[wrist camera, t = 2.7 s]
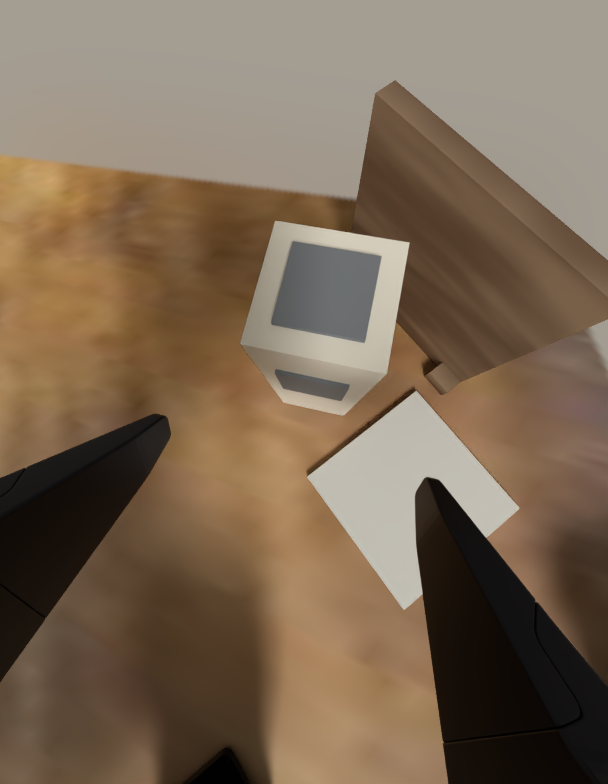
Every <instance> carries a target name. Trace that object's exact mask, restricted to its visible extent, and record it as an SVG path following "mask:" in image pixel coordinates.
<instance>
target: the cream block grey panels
mask: <svg viewBox="0 0 608 784" xmlns="http://www.w3.org/2000/svg"><path fill="white" fill-rule="evenodd" d="M408 249H409V242H403V241H397V240H391V239H385V238H379V237H373V236H366V235H360V234H354V233H348V232H342V231H336V230H330V229H324V228H317V227H311V226H305V225H299V224H293V223H287V222H281V221H275V224H274V227H273V231H272V234H271V238H270V241H269V245H268V248H267V252H266V255H265V259H264V262H263V266H262V269H261V272H260V276H259V279H258V283H257V286H256V290H255V293H254V297H253V300H252V304H251V307H250V311H249V314H248V318H247V321H246V325H245V328H244V332H243V335H242V339H241V342H240V345H241V346H242V347H243V349H244V350H245V351H246V353H247V354H248V355H249V357H250V358H251V359H252V361H253V362H254V363H255V365H256V366H257V367H258V369H259V370H260V372H261V373H262V374H263V376H264V377H265V378H266V380H267V381H268V382H269V384H270V385H271V386H272V388H273V389H274V390H275V392H276V393H277V394H278V396H279V397H280V398H281V400H282V401H283V402H284V403H288V404H292V405H297V406H301V407H306V408H310V409H315V410H319V411H324V412H329V413H333V414H338V415H342V416H344V415H345V414H346V413H347V412H348V411H349V410H350V409H351V408H352V407H353V406H354V405H355V404H356V403H357V402H358V401H359V400H360V399H361V398H362V397H363V396H364V395H366V394H367V393H368V392H369V391H370V390H371V389H372V388H373V387H374V386H375V385H376V384H377V383H378V382H379V381H380V380H381V379H382V378H383V377H384V376H385V375H386V374H387V369H388V364H389V358H390V352H391V346H392V341H393V335H394V329H395V324H396V318H397V312H398V306H399V301H400V295H401V289H402V283H403V278H404V272H405V266H406V260H407V255H408Z"/></svg>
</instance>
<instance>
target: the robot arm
mask: <svg viewBox="0 0 608 784" xmlns="http://www.w3.org/2000/svg"><path fill="white" fill-rule="evenodd" d="M170 436H171V431H170V427H169V422H168V418H167V417H166V416H164V415H160V414H152V415H150V416H147V417H145V418H142V419H140V420H138V421H135V422H133V423H130V424H128V425H126V426H123V427H121V428H119V429H116V430H114V431H111V432H109V433H107V434H104V435H102V436H99V437H97V438H95V439H92V440H90V441H88V442H85V443H83V444H80V445H78V446H76V447H73V448H71V449H69V450H66V451H64V452H61V453H59V454H57V455H54V456H52V457H49V458H47V459H45V460H42V461H40V462H37V463H35V464H33V465H30V466H28V467H27V468H23V469H21V470H18V471H16V472H14V473H11V474H9V475H6V476H4V477H1V478H0V682H1V680H2V679H3V677H4V676H5V675H6V673H7V672H8V670H9V669H10V668H11V666H12V665H13V664H14V662H15V661H16V659H17V658H18V657H19V655H20V654H21V652H22V651H23V650H24V648H25V647H26V645H27V644H28V643H29V641H30V640H31V639H32V637H33V636H34V634H35V633H36V632H37V630H38V629H39V627H40V626H41V625H42V623H43V622H44V620H45V618H46V617H47V616H48V615H49V613H50V612H51V610H52V609H53V608H54V606H55V605H56V603H57V602H58V601H59V599H60V598H61V596H62V595H63V594H64V592H65V591H66V590H67V588H68V587H69V585H70V584H71V583H72V581H73V580H74V578H75V577H76V576H77V574H78V573H79V571H80V570H81V569H82V567H83V566H84V565H85V563H86V562H87V560H88V559H89V558H90V556H91V555H92V553H93V552H94V551H95V549H96V548H97V546H98V545H99V544H100V542H101V541H102V540H103V538H104V537H105V535H106V534H107V533H108V531H109V530H110V528H111V527H112V526H113V524H114V523H115V521H116V520H117V519H118V517H119V516H120V515H121V513H122V512H123V510H124V509H125V508H126V506H127V505H128V503H129V502H130V501H131V499H132V498H133V496H134V495H135V494H136V492H137V491H138V489H139V488H140V487H141V485H142V484H143V483H144V481H145V480H146V478H147V477H148V475H149V474H150V472H151V470H152V469H153V467H154V465H155V463H156V462H157V460H158V458H159V456H160V455H161V453H162V451H163V449H164V448H165V446H166V444H167V442H168V441H169V439H170ZM415 530H416V548H417V557H418V564H419V571H420V578H421V586H422V593H423V600H424V608H425V615H426V622H427V630H428V637H429V644H430V651H431V659H432V666H433V673H434V681H435V688H436V695H437V703H438V710H439V717H440V724H441V732H442V739H443V742H444V743H443V748H444V755H445V762H446V770H447V777H448V784H608V685H607V684H606V683H605V682H604V681H603V680H602V679H601V677H600V676H599V675H598V674H597V673H596V672H595V671H594V669H593V668H592V667H591V666H590V665H589V664H588V662H587V661H586V660H585V659H584V658H583V657H582V656H581V654H580V653H579V652H578V651H577V650H576V649H575V647H574V646H573V645H572V644H571V643H570V641H569V640H568V639H567V638H566V637H565V635H564V634H563V633H562V632H561V630H560V629H559V628H558V627H557V626H556V624H555V623H554V622H553V621H552V620H551V618H550V617H549V616H548V615H547V613H546V612H545V611H544V610H543V608H542V607H541V606H540V605H539V603H537V602H535V598H534V597H533V596H532V595H531V593H530V592H529V591H528V590H527V588H526V587H525V586H524V585H523V583H522V582H521V581H520V580H519V578H518V577H517V576H516V575H515V573H514V572H513V571H512V570H511V568H510V567H509V566H508V565H507V563H506V562H505V561H504V560H503V558H502V557H501V556H500V555H499V553H498V552H497V551H496V550H495V548H494V547H493V546H492V545H491V543H490V542H489V541H488V540H487V538H486V537H485V536H484V535H483V533H482V532H481V531H480V530H479V528H478V527H477V526H476V525H475V523H474V522H473V521H472V520H471V518H470V517H469V516H468V515H467V513H466V512H465V511H464V510H463V508H462V507H461V506H460V505H459V503H458V502H457V501H456V500H455V498H454V497H453V496H452V495H451V493H450V492H449V491H448V490H447V488H446V487H445V486H444V485H443V483H442V482H441V481H440V480H438V479H435V478H431V477H425V478H424V479H423V481H422V482H421V484H420V486H419V487H418V489H417V491H416V493H415ZM224 759H226V760H227V761H228V762H225V761H224ZM184 784H251V783H250V781H249V779H248V777H247V776H246V774H245V772H244V770H243V768H242V766H241V765H240V763H239V761H238V759H237V757H236V755H235V754H234V752H233V750H232V749H230V748H224V749H223V750H221V751H220V752H219V753H218V754H217V755H216V756H215V757H213V758H212V759H211V760H210V761H209V762H208V763H207V764H205V765H204V766H203V767H202V768H201V769H200V770H198V771H197V772H196V773H195V774H194V775H193V776H192V777H190V778H189V779H188V780H187V781H186V782H185V783H184Z"/></svg>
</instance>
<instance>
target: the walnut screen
mask: <svg viewBox="0 0 608 784" xmlns="http://www.w3.org/2000/svg"><path fill="white" fill-rule="evenodd" d="M351 233H354V234H360V235H366V236H373V237H379V238H385V239H391V240H397V241H403V242H409V249H408V255H407V260H406V266H405V272H404V278H403V283H402V289H401V295H400V301H399V306H398V312H397V318H396V322H397V323H398V324H399V325H400V326H401V327H402V328H403V329H404V330H405V332H406V333H407V334H408V335H409V336H410V337H411V338H412V339H413V340H414V341H415V342H416V344H417V345H418V346H419V347H420V348H421V349H422V350H423V351H424V352H425V353H426V355H427V356H428V357H429V358H430V359H431V360H432V361H433V362H434V363H435V364H436V365H437V367H435V368H434V369H433V370H431V371H430V372H429V373H428V374H426V375H425V377H426V379H427V380H428V381H429V382H430V383H431V384H432V385H433V386H434V387H435V389H436V390H437V391H438V392H439V393H440V394H441V395H443V394H445V393H448V392H449V391H450V390H451V389H453V388H454V387H455V386H456V385H458V384H459V383H460V382H462V381H464V380H466V379H469V378H471V377H473V376H476V375H478V374H480V373H483V372H485V371H487V370H490V369H492V368H494V367H497V366H499V365H502V364H504V363H506V362H509V361H511V360H513V359H516V358H518V357H520V356H523V355H525V354H527V353H530V352H532V351H534V350H537V349H539V348H541V347H544V346H546V345H548V344H551V343H553V342H555V341H558V340H560V339H563V338H565V337H567V336H570V335H572V334H574V333H577V332H579V331H581V330H584V329H586V328H588V327H591V326H593V325H595V324H597V323H600V322H602V321H605V320H607V319H608V260H606V258H604V257H603V256H602V255H601V254H600V253H598V252H597V251H596V250H595V249H594V248H592V247H591V246H590V245H589V244H588V243H587V242H585V241H584V240H583V239H582V238H581V237H580V236H578V235H577V234H576V233H575V232H574V231H572V230H571V229H570V228H569V227H568V226H567V225H565V224H564V223H563V222H562V221H561V220H560V219H558V218H557V217H556V216H555V215H554V214H552V213H551V212H550V211H549V210H548V209H547V208H545V207H544V206H543V205H542V204H541V203H539V202H538V201H537V200H536V199H535V198H533V197H532V196H531V195H530V194H529V193H527V192H526V191H525V190H524V189H523V188H522V187H520V186H519V185H518V184H517V183H515V182H514V181H513V180H512V179H511V178H510V177H509V176H508V175H506V174H505V173H504V172H503V171H502V170H500V169H499V168H498V167H497V166H496V165H495V164H493V163H492V162H491V161H490V160H489V159H488V158H486V157H485V156H484V155H483V154H482V153H480V152H479V151H478V150H477V149H476V148H475V147H473V146H472V145H471V144H470V143H468V142H467V141H466V140H465V139H464V138H463V137H461V136H460V135H459V134H458V133H457V132H456V131H454V130H453V129H452V128H451V127H449V126H448V125H447V124H446V123H445V122H444V121H443V120H441V119H440V118H439V117H438V116H437V115H435V114H434V113H433V112H432V111H431V110H430V109H428V108H427V107H426V106H425V105H424V104H423V103H421V102H420V101H419V100H418V99H417V98H415V97H414V96H413V95H412V94H411V93H410V92H408V91H407V90H406V89H405V88H404V87H402V86H401V85H400V84H399V83H398V82H397V81H393V82H392V83H390V84H389V85H387V86H386V87H384V88H383V89H381V90H380V91H378V92H376V94H375V98H374V104H373V110H372V115H371V121H370V127H369V133H368V138H367V144H366V150H365V156H364V162H363V168H362V174H361V179H360V185H359V191H358V196H357V202H356V208H355V214H354V219H353V225H352V231H351Z"/></svg>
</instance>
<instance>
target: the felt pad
mask: <svg viewBox="0 0 608 784" xmlns="http://www.w3.org/2000/svg"><path fill="white" fill-rule="evenodd" d="M307 477H308V479H309V480H310V482H311V483H312V484H313V486H314V487H315V488H316V490H317V491H318V493H319V494H320V495H321V497H322V498H323V499H324V501H325V502H326V504H327V505H328V506H329V508H330V509H331V510H332V512H333V513H334V515H335V516H336V517H337V519H338V520H339V521H340V523H341V524H342V526H343V527H344V528H345V530H346V531H347V532H348V534H349V535H350V537H351V538H352V539H353V541H354V542H355V543H356V545H357V546H358V548H359V549H360V550H361V552H362V553H363V554H364V556H365V557H366V559H367V560H368V561H369V563H370V564H371V565H372V567H373V568H374V570H375V571H376V572H377V574H378V575H379V576H380V578H381V579H382V581H383V582H384V583H385V585H386V586H387V588H388V589H389V590H390V592H391V593H392V594H393V596H394V597H395V599H396V600H397V601H398V603H399V604H400V605H401V607H402V608H403V610H405V609H406V608H407V607H408V606H409V605H410V604H412V603H413V602H414V601H415V600H416V599H417V598H418V597H420V596H421V595H422V594H423V593H422V586H421V578H420V571H419V564H418V557H417V548H416V530H415V493H416V491H417V489H418V487H419V486H420V484H421V482H422V481H423V479H424V478H425V477H431V478H435V479H438V480H440V481H441V482H442V483H443V485H444V486H445V487H446V488H447V490H448V491H449V492H450V493H451V495H452V496H453V497H454V498H455V500H456V501H457V502H458V503H459V505H460V506H461V507H462V508H463V510H464V511H465V512H466V513H467V515H468V516H469V517H470V518H471V520H472V521H473V522H474V523H475V525H476V526H477V527H478V528H479V530H480V531H481V532H482V533H483V535H484V536H485V537H486V538H487V537H488V536H489V535H490V534H491V533H492V532H493V531H495V530H496V529H497V528H498V527H499V526H500V525H501V524H502V523H504V522H505V521H506V520H507V519H508V518H509V517H510V516H512V515H513V514H514V513H515V512H516V511H517V510H518V509H520V508H519V507H518V506H517V505H516V504H515V503H514V501H513V500H512V499H511V498H510V497H509V496H508V495H507V493H506V492H505V491H504V490H503V489H502V488H501V487H500V485H499V484H498V483H497V482H496V481H495V480H494V479H493V477H492V476H491V475H490V474H489V473H488V472H487V471H486V469H485V468H484V467H483V466H482V465H481V464H480V463H479V461H478V460H477V459H476V458H475V457H474V456H473V455H472V453H471V452H470V451H469V450H468V449H467V448H466V447H465V446H464V444H463V443H462V442H461V441H460V440H459V439H458V438H457V436H456V435H455V434H454V433H453V432H452V431H451V430H450V428H449V427H448V426H447V425H446V424H445V423H444V422H443V420H442V419H441V418H440V417H439V416H438V415H437V414H436V412H435V411H434V410H433V409H432V408H431V407H430V406H429V404H428V403H427V402H426V401H425V400H424V399H423V398H422V397H421V395H420V394H419V393H418V392H417V391H415V392H414V393H412V394H411V395H410V396H409V397H407V398H406V399H405V400H403V401H402V402H401V403H400V404H398V405H397V406H396V407H395V408H393V409H392V410H391V411H390V412H388V413H387V414H386V415H384V416H383V417H382V418H381V419H379V420H378V421H377V422H376V423H374V424H373V425H372V426H371V427H369V428H368V429H367V430H365V431H364V432H363V433H362V434H360V435H359V436H358V437H357V438H355V439H354V440H353V441H351V442H350V443H349V444H348V445H346V446H345V447H344V448H343V449H341V450H340V451H339V452H338V453H336V454H335V455H334V456H332V457H331V458H330V459H329V460H327V461H326V462H325V463H324V464H322V465H321V466H320V467H319V468H317V469H316V470H315V471H313V472H312V473H311V474H310V475H308V476H307Z"/></svg>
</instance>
